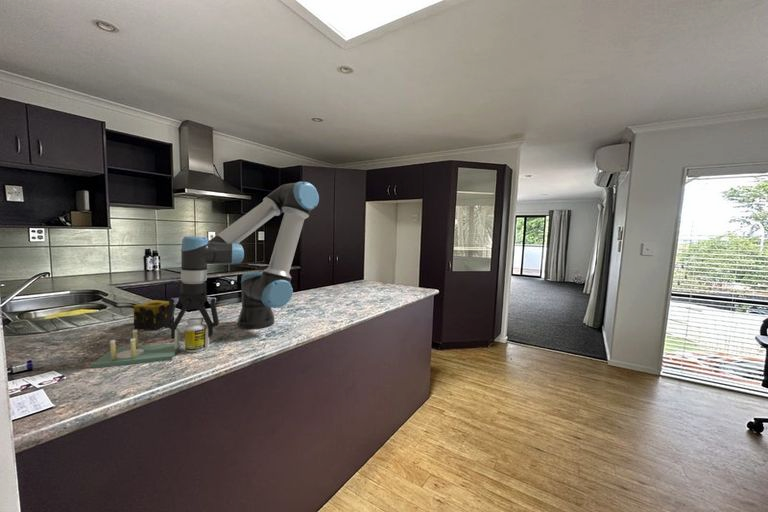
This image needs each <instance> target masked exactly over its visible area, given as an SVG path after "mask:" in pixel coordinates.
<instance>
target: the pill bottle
mask: <svg viewBox="0 0 768 512" xmlns="http://www.w3.org/2000/svg"><path fill="white" fill-rule="evenodd" d="M203 322H204V318H203V316H194V317H193V316H192V317H189V318H187V320H186V323H187V325H186V326H185V327H184V344H185V345H184V347H185V352H187V353H190V354H191V353H192V354H193V353H200V352H202V351H204V350H205V349H206V348H207V347H205V333H206V328H207V325H206V323H203Z"/></svg>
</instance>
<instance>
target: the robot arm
mask: <svg viewBox="0 0 768 512" xmlns="http://www.w3.org/2000/svg"><path fill="white" fill-rule="evenodd" d="M319 201H320V195H319V193H318V191H317V188H316V187H315V186H314V185H313V184H312V183H310V182H308V181H298V182H291V183H284V184H282V185H280V186H278V187H277V188H276V189H274V190H273V191H271V192H270V193H268V195H266V196H265V197H264V198H263V199H262V202H261V203H259V204H258V205H256V206H255V207H253V208H252V209H251V210H250V211H248V212H247V213H246V214H244V215H242V216H241V217H240V218H238V219H237V220H236V221H234V222H233V223H231V224H230V225H229V226H228V227H226V228H224V230H222V231H221V232H219V233H217V234H216V235H214V237H212V238H210V239H208V237H206V236H193V235H192V236H191V235H190V236H189V235H186V236H184V237H183V238H182V241H181V247H180V251H181V254H180V255H181V259H180V260H181V266H180V267H181V268H180V281H181V283H180V295H179V297H171V298H170V299H169V300H168V301H169V305H170V307H169V311H168V315H167V319H166V323H165V327H164V328H165V329H170V331H171V332H170V338H171V340H173V339H174V343H175V345H174V349H177V348H178V347H179V343H180V334H181V333H180V331H181V329H180V327H178V325H179V324H180V322H181V320H182V318H183V317H184V315H185V313H186V311H188V310H192V309H193V310H198V311H199V312H200V314H201V317H203V321H204V322H205V325H206V333H205V347H206V348H208V347H209V345H210V338H211V337H212V336H213V334H214V328H215V327H217V326H219V324H220V322H219V316H218V315H219V314H218V310H217V305H216V303H217V297H215V296H214V297H209V296H208V295H207V284H208V283H207V282H206V281H208V280H207V279H208V265H224V264H225V265H227V264H228V265H230V264H231V265H235V264H240V263H242V262H243V260H244V257H245V250H244V248H243V245H242V244H240V243H241V242H242V241H243V240H245V239H246V238H248V237H249V236H250V235H252V233H254V232H255V231H256V230H258V229H259V228H260V227H262V226H263V225H264V224H265V223H267V222H268V221H269V220H271V219H272V218H273V217H275V216H276V217H278V216H281V214H282V213H283V217H282V220H281V223H280V227H279V230H278V234H277V236H276V240H275V243H274V246H273V251H272V254H271V257H270V261H269V265H268V266H267V268H265V269H264V270H263V271H261V272H259V271H257V272H248V273H243V274H242V275H241V281H240V284H241V285H240V286H241V310H240V312H239V315H238V319H237V327H238V328H241V329H245V330H246V329H247V330H250V329H252V330H255V329H256V330H257V329H264V328H267V327H270V326H272V325H274V324H275V314H274V313H273V310H272V308H273V309H279V308H282V307H284V306H285V305H287V304H288V303H289V302H290V301H291V298H292V297H293V293H294V291H293V290H294V289H293V287H292V284H291V280H292V276H291V274H290V270H291V268H292V264H293V260H294V257H295V255H296V254H295V253H296V251H297V250H296V249H297V246H298V243H299V239H300V237H301V232H302V230H303V226H304V222H305V220H306V219H308V218H309V217H310V214H311V211H312V210H314V209H315V208H316V207H317V206H318V204H319ZM206 302H208V304H209V305H210V311H211V316H212V319H211V317H210V316H209V313H208V311H207V309H206V307H205V303H206ZM178 303H180V304H181V305H182V307H181V309H180V311H179V313H178V315H177V316H176V318H175V319H174V323H173V324H171V323H172V319H173V315H174V316H175V310H176V305H177V304H178Z"/></svg>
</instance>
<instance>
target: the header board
mask: <svg viewBox="0 0 768 512" xmlns="http://www.w3.org/2000/svg"><path fill="white" fill-rule="evenodd" d="M138 332H139V329H132V338H130V340H129V343H130V347H123V348H116V347H117V346H116V345H117V344H116V341H117V340H116V339H111V340H109V345H110V350H108V352H106V353H105V354H103V355H102V356H101V357H100V358H98V359H97V360H96V361H94V362H93V363H92V365H91V367H92V369H97V368H106V367H108V368H109V367H115V366H116V367H118V366H125V365H127V366H128V365H135V364H137V365H138V364H143V363H144V364H146V363H155V362H163V361H172V360H173V359H174V358H175V356H176V354H178V352H179V351H180V349H181V348H182V347H183V343H182V342H179V347H178V348H177V349H174V345H175V342H174V343H165V344H153V345H143V346H139V338H138V337H139V336H138V335H139V334H138Z"/></svg>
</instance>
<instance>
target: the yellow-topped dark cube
mask: <svg viewBox="0 0 768 512" xmlns="http://www.w3.org/2000/svg"><path fill="white" fill-rule="evenodd" d="M132 307H133V326H134V327H133V328H134V330H136V329H137V330H141V329H144V330H143V331H154V330H155V331H158V330H160V328H161V329H163V327H164V328H165V323H166V319H167V315H168V311H169V307H170V305H169V300H168V301H167V300H158V299H153V300H149V301H146V302H142V303H138V304H134V305H133V306H132ZM174 322H175V314H174V315H173V319H172V323H171V324H173V323H174ZM157 329H158V330H157Z"/></svg>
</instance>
